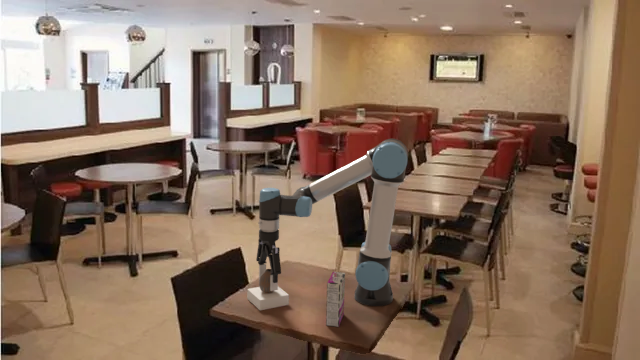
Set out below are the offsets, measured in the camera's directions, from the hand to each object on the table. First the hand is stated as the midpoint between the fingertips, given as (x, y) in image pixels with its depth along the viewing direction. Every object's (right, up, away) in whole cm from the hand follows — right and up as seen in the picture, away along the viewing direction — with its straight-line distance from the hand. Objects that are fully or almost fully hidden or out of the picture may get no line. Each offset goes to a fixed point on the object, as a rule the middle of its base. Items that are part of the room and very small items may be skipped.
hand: (268, 285), depth 222 cm
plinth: (0, -7, +1) cm, 7 cm away
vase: (0, -3, +1) cm, 3 cm away
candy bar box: (+25, -10, -12) cm, 30 cm away
